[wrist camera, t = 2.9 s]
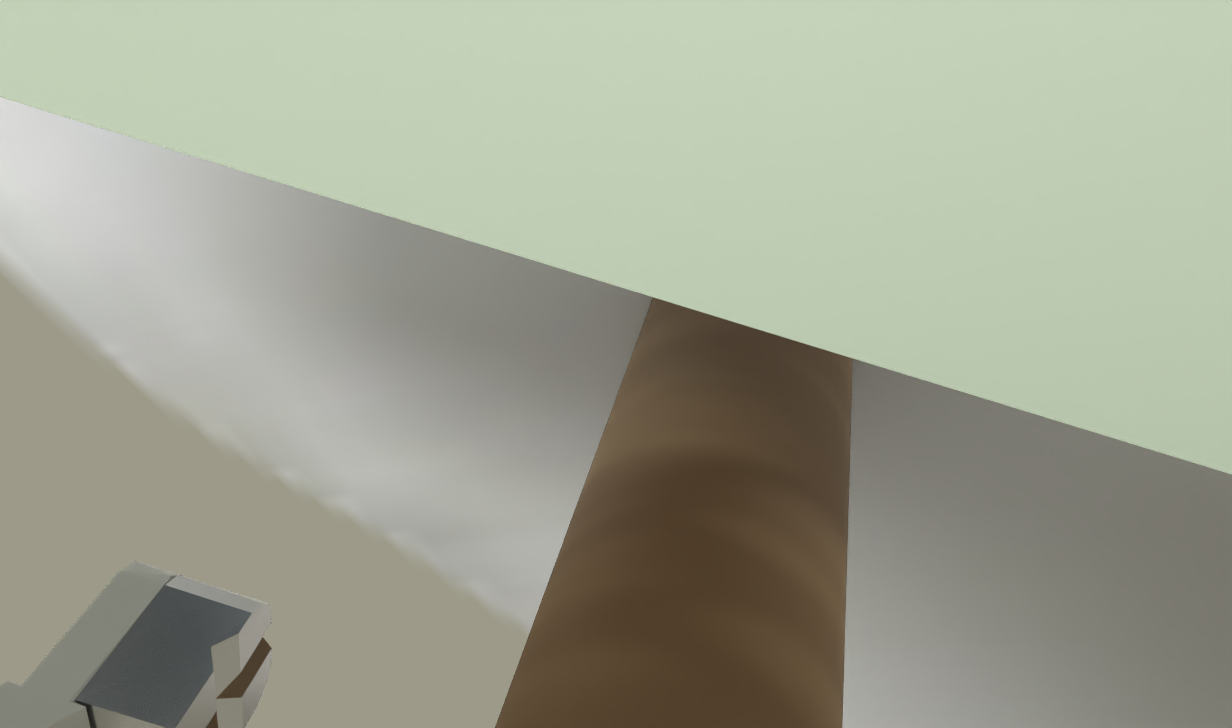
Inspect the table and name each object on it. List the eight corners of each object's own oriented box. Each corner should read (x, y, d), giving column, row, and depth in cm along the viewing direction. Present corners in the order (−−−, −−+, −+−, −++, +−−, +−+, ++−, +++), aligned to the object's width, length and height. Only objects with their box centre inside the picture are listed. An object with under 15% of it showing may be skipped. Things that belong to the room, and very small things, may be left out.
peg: (885, 260, 16) (906, 1095, 6) (814, 417, 18) (749, 1218, 9) (681, 198, 16) (406, 921, 7) (636, 361, 18) (376, 1085, 9)
